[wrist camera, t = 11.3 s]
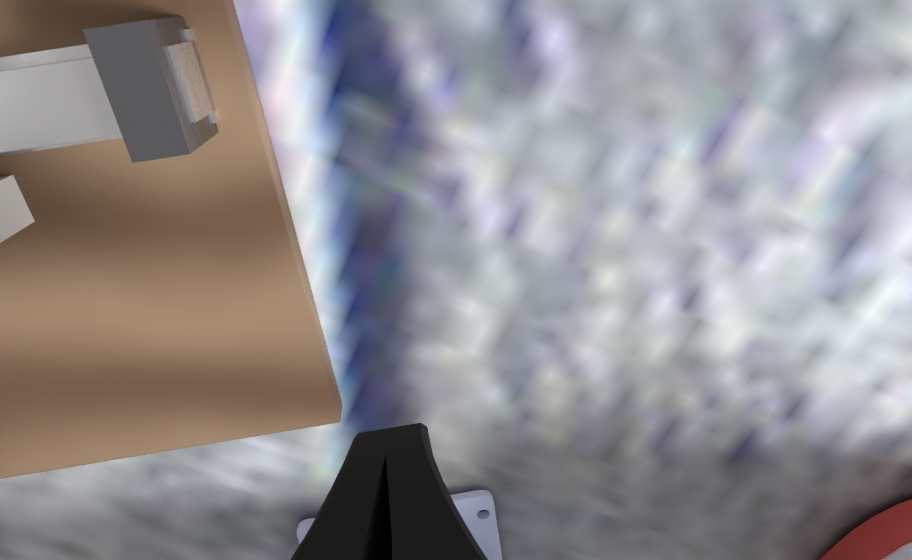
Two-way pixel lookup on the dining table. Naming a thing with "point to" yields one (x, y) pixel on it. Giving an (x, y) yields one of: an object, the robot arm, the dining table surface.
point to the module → (12, 208)
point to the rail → (110, 93)
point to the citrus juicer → (878, 537)
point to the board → (153, 274)
